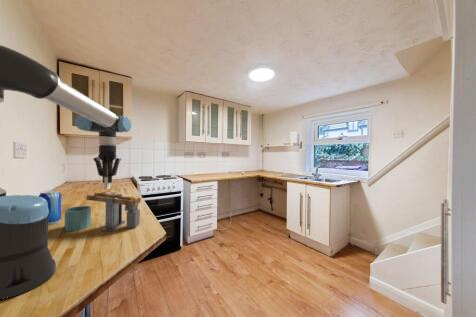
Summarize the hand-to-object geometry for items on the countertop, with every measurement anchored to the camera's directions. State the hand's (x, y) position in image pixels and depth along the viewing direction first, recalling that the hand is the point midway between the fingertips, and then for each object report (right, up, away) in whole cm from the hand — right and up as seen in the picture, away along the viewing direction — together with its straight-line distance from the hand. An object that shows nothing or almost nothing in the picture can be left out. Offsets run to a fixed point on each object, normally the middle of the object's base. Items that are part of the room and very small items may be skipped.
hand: (107, 188), depth 99 cm
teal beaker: (-7, -17, -10) cm, 21 cm away
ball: (+18, -4, -7) cm, 20 cm away
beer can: (-25, -17, -6) cm, 31 cm away
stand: (+9, -17, -8) cm, 21 cm away
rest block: (+18, -18, -7) cm, 26 cm away
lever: (+8, -8, -4) cm, 12 cm away
